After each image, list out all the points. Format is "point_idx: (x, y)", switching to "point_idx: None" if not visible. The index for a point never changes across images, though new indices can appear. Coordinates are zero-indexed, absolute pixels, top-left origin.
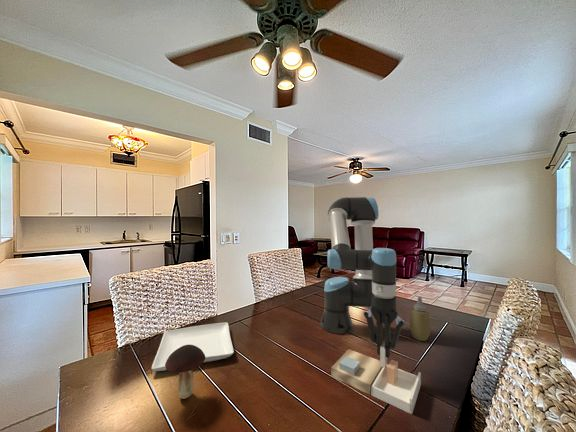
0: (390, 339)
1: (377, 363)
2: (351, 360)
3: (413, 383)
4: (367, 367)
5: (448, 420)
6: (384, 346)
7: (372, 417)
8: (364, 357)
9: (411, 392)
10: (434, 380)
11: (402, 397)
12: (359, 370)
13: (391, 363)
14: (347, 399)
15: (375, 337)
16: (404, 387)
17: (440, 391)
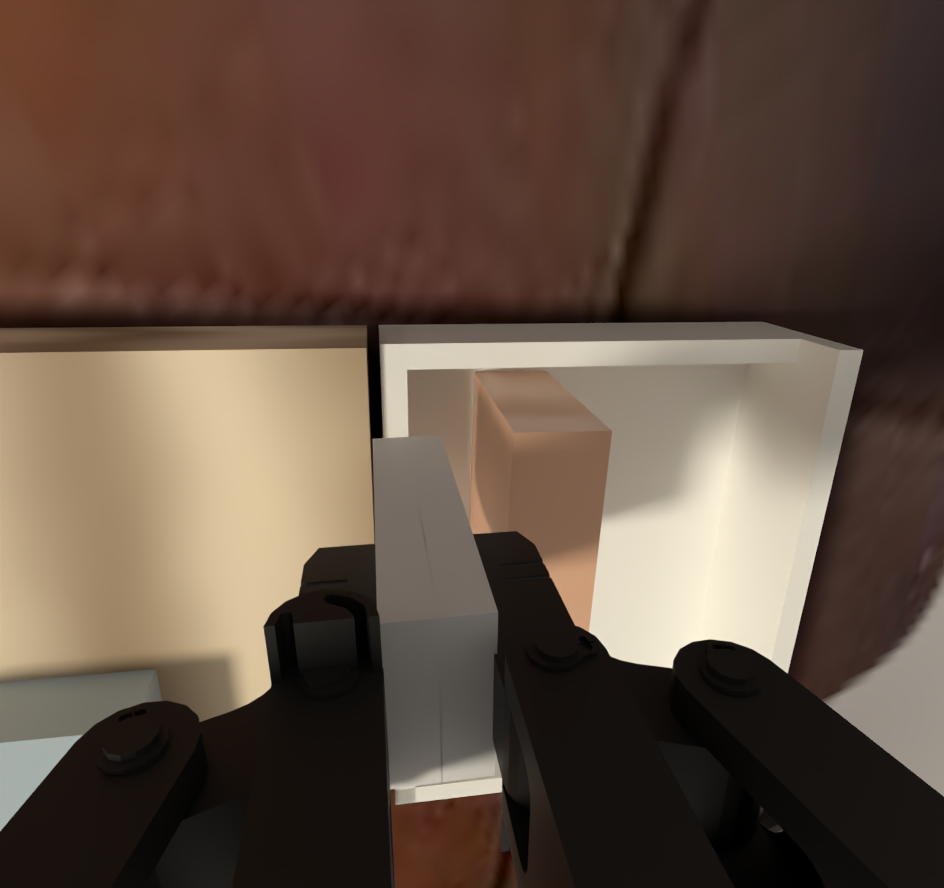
0: (663, 769)
1: (302, 443)
2: (20, 786)
3: (703, 370)
4: (233, 607)
5: (912, 598)
6: (464, 716)
7: (472, 879)
8: (68, 420)
9: (691, 519)
10: (904, 119)
11: (626, 624)
12: None
13: (536, 533)
14: None
15: (173, 865)
16: (629, 493)
17: (926, 292)
